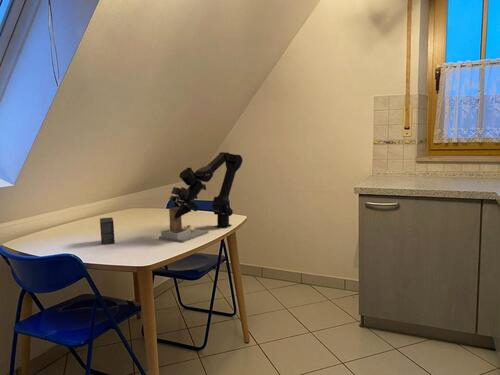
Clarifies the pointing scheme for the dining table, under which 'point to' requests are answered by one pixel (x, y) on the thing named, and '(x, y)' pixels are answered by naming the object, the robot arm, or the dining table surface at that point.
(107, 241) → the box
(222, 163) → the robot arm
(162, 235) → the housing
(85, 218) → the dining table surface
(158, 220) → the dining table surface
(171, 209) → the wooden block
